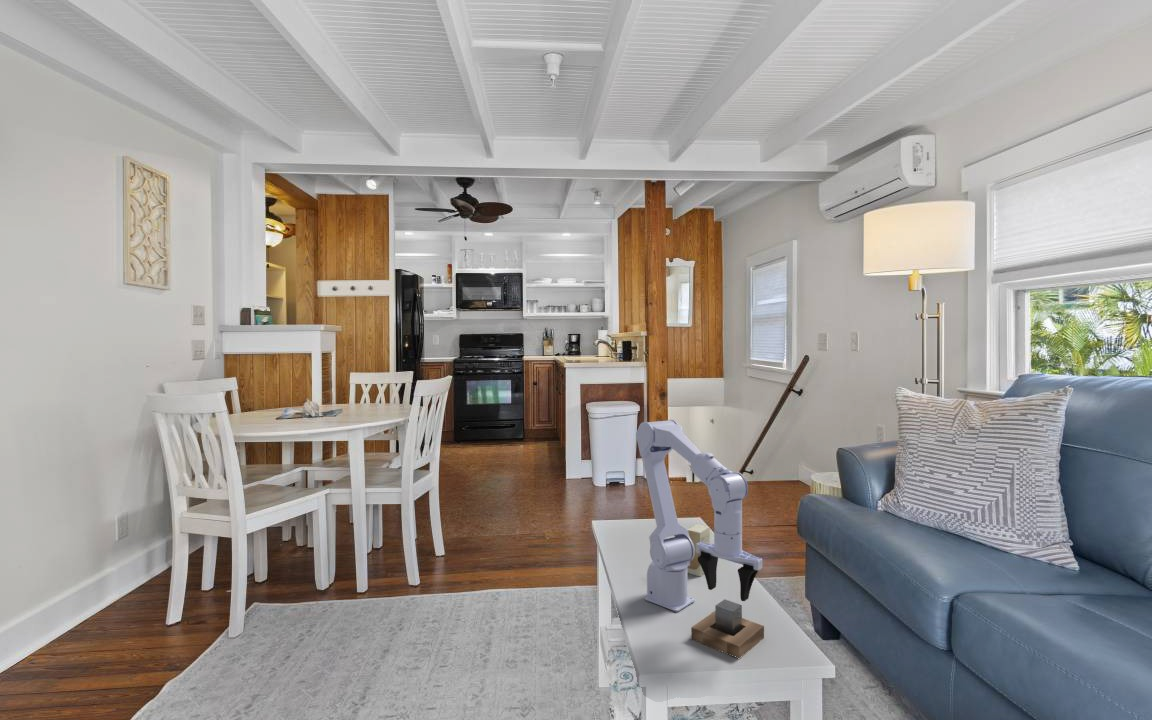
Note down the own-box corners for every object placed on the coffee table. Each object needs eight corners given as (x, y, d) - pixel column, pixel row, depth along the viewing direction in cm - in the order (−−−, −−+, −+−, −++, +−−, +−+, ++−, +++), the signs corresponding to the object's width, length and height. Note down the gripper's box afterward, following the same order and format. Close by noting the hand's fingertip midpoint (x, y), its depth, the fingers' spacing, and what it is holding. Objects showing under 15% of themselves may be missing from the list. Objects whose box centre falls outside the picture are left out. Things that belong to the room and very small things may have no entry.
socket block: (691, 638, 116) (691, 627, 116) (717, 620, 124) (717, 609, 124) (739, 659, 108) (739, 646, 108) (763, 637, 116) (764, 626, 116)
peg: (715, 637, 117) (715, 605, 116) (724, 630, 119) (724, 599, 119) (732, 644, 114) (732, 611, 114) (741, 637, 117) (741, 605, 116)
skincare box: (696, 566, 155) (696, 523, 155) (710, 569, 152) (710, 526, 152) (685, 573, 150) (685, 529, 150) (700, 577, 147) (699, 532, 147)
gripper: (769, 533, 114) (769, 598, 114) (707, 518, 124) (707, 578, 124) (753, 542, 109) (753, 609, 109) (690, 526, 119) (690, 587, 119)
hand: (728, 593), depth 116 cm, fingers open, 7 cm apart
